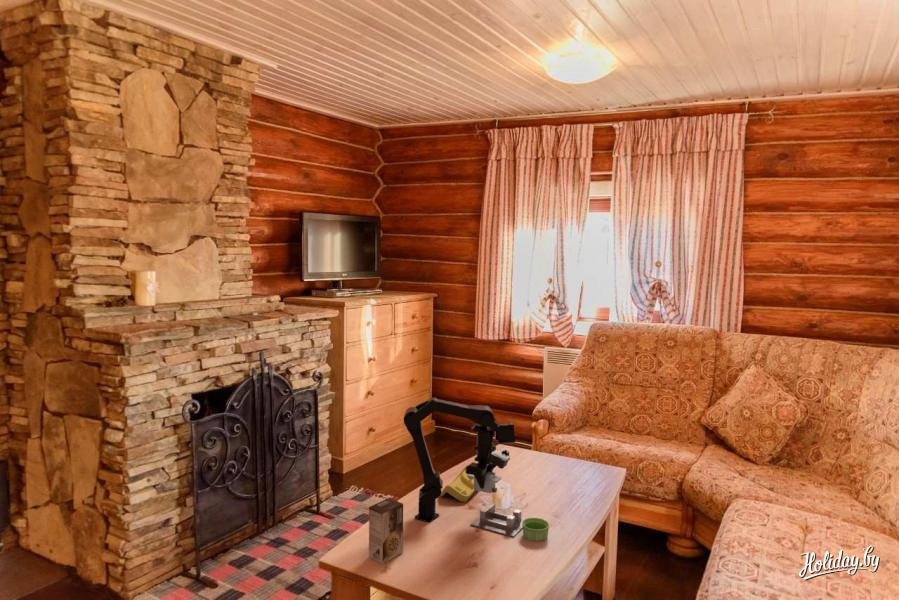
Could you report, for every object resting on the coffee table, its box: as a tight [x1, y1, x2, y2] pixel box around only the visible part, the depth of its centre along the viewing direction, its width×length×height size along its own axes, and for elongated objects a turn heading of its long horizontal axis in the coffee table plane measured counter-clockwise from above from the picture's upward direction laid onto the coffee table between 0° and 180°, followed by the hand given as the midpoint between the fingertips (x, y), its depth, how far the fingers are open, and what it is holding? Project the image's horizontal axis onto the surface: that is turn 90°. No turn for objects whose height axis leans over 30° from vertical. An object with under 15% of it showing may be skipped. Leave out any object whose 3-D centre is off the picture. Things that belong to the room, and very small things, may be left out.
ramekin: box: [522, 517, 550, 542], centre depth 204 cm, size 9×9×4 cm
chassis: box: [470, 502, 526, 538], centre depth 212 cm, size 14×16×4 cm
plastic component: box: [439, 464, 477, 503], centre depth 239 cm, size 20×7×10 cm
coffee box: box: [368, 497, 404, 565], centre depth 188 cm, size 9×6×16 cm
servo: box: [468, 471, 502, 494], centre depth 215 cm, size 4×11×7 cm, turn 62°
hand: (484, 486), depth 215 cm, fingers closed on servo, 4 cm apart
